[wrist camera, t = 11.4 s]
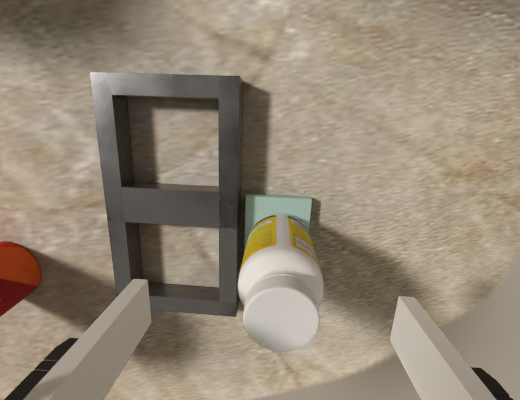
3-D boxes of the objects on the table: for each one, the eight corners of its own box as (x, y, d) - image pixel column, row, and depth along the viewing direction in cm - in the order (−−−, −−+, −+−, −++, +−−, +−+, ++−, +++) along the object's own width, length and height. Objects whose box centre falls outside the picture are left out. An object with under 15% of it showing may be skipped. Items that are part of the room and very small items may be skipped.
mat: (246, 193, 23) (245, 195, 22) (310, 196, 23) (311, 199, 22) (244, 275, 25) (243, 280, 24) (303, 279, 25) (303, 284, 24)
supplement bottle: (245, 265, 24) (224, 355, 14) (251, 208, 22) (232, 267, 13) (305, 273, 24) (323, 369, 14) (315, 215, 22) (343, 281, 13)
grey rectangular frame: (106, 77, 21) (89, 72, 19) (243, 81, 21) (239, 76, 19) (129, 294, 26) (118, 307, 25) (239, 302, 26) (235, 316, 24)
